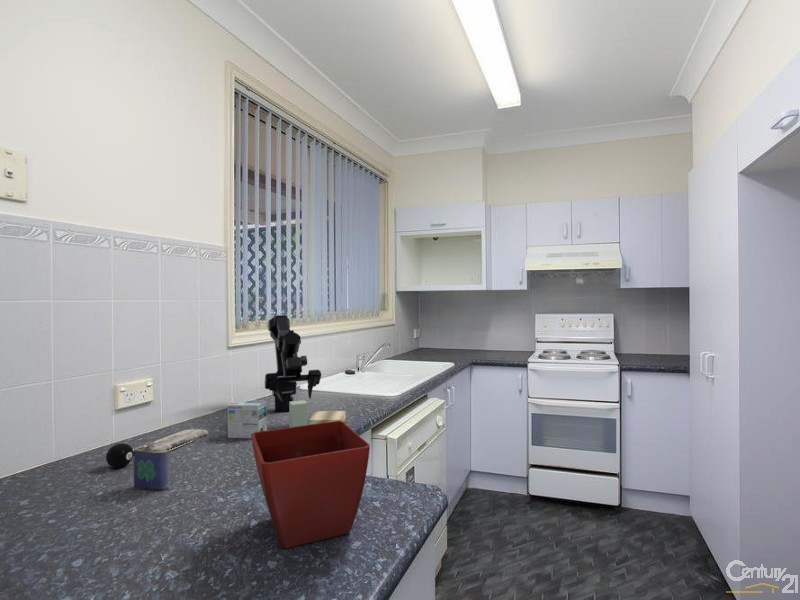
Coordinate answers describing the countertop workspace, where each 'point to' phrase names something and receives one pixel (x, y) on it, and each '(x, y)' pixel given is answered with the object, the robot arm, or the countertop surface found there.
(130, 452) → the billiard ball
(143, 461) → the flask
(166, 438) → the newspaper
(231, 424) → the light bulb box
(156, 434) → the countertop surface
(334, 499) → the plant pot
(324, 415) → the slab
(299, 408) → the tall block
